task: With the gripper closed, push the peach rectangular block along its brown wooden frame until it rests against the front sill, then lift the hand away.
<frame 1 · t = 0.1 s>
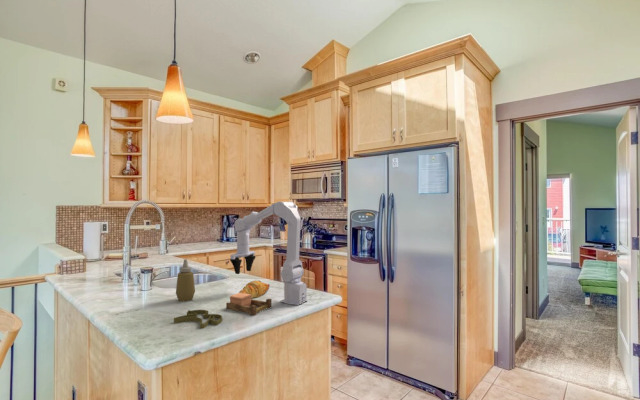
hand: (243, 272, 160), 10 cm above the counter, tool pointing down, fingers open, 7 cm apart
brown wooden frame: (247, 308, 138), on the counter
croissant: (253, 295, 158), on the counter
peach rectangular block: (240, 300, 139), point 3 cm above the counter, slide at 0.0 cm
cookie cutter: (200, 322, 124), on the counter
squeeze bottle: (185, 300, 150), on the counter
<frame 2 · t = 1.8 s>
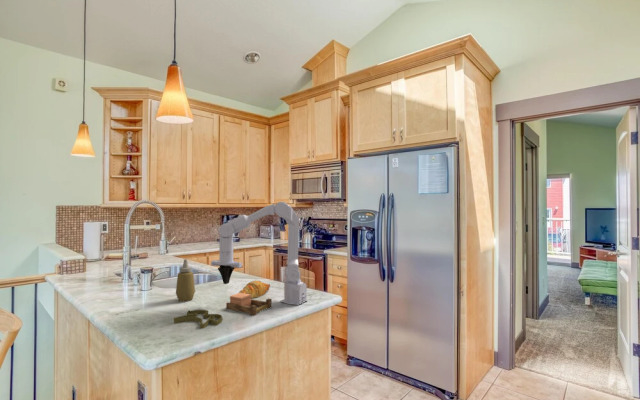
hand: (226, 283, 143), 9 cm above the counter, tool pointing down, fingers closed
nothing on the counter moved.
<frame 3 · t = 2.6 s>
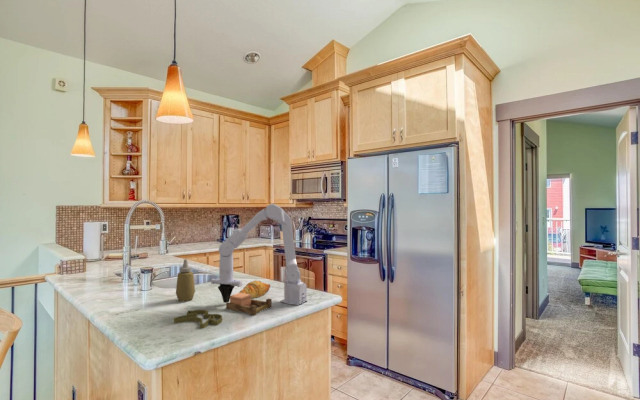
hand: (226, 302, 143), 1 cm above the counter, tool pointing down, fingers closed
nothing on the counter moved.
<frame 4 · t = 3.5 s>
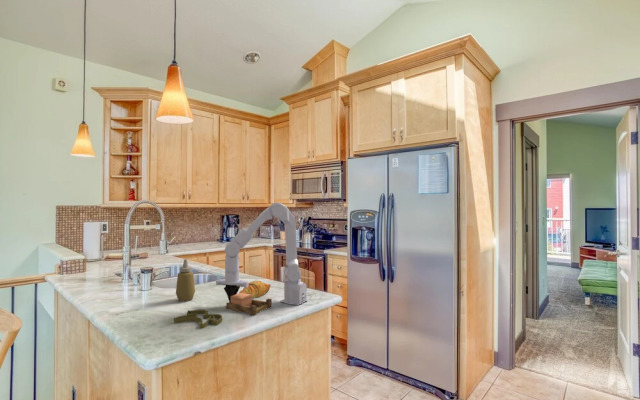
hand: (232, 303, 142), 1 cm above the counter, tool pointing down, fingers closed
peach rectangular block: (241, 300, 139), point 3 cm above the counter, slide at 0.3 cm, touching gripper
everything else where it was.
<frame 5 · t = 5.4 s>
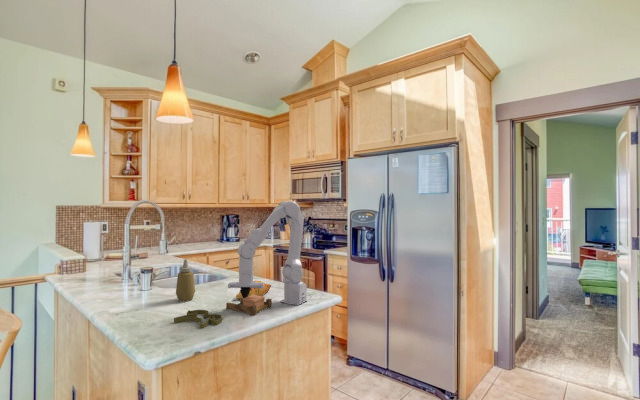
hand: (245, 305, 138), 1 cm above the counter, tool pointing down, fingers closed, pressing on peach rectangular block
peach rectangular block: (253, 303, 136), point 3 cm above the counter, slide at 7.0 cm, touching brown wooden frame, gripper
everything else where it was.
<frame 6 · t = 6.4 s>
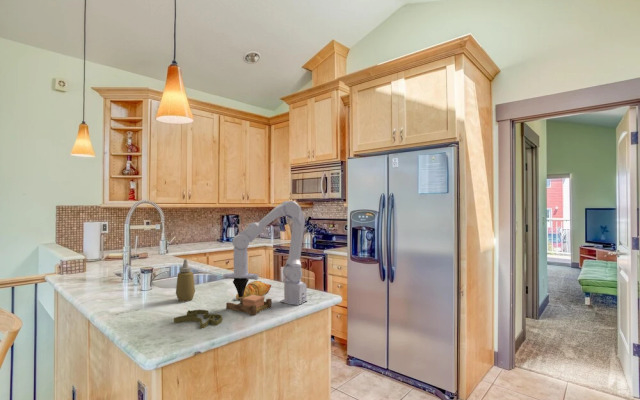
hand: (241, 296, 139), 4 cm above the counter, tool pointing down, fingers closed
peach rectangular block: (253, 303, 136), point 3 cm above the counter, slide at 6.8 cm
everything else where it was.
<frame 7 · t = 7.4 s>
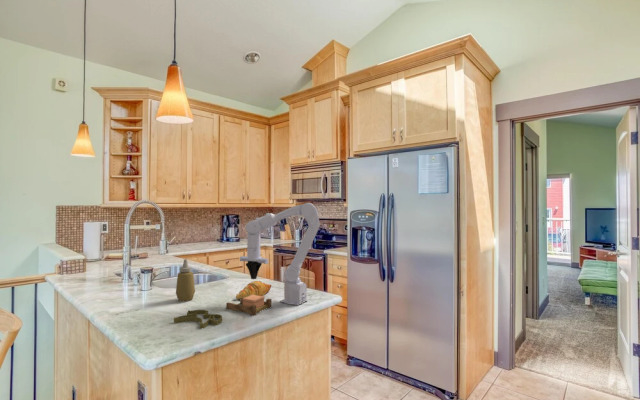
hand: (253, 278, 148), 10 cm above the counter, tool pointing down, fingers closed
nothing on the counter moved.
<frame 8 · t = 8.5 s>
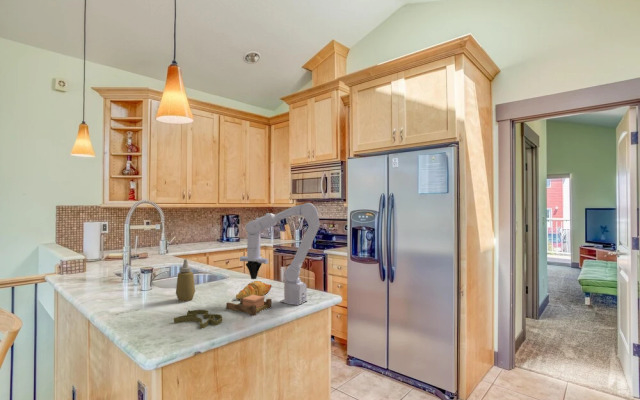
hand: (253, 278, 148), 10 cm above the counter, tool pointing down, fingers closed
nothing on the counter moved.
at the end: peach rectangular block slide at 6.8 cm; peach rectangular block touching nothing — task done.
